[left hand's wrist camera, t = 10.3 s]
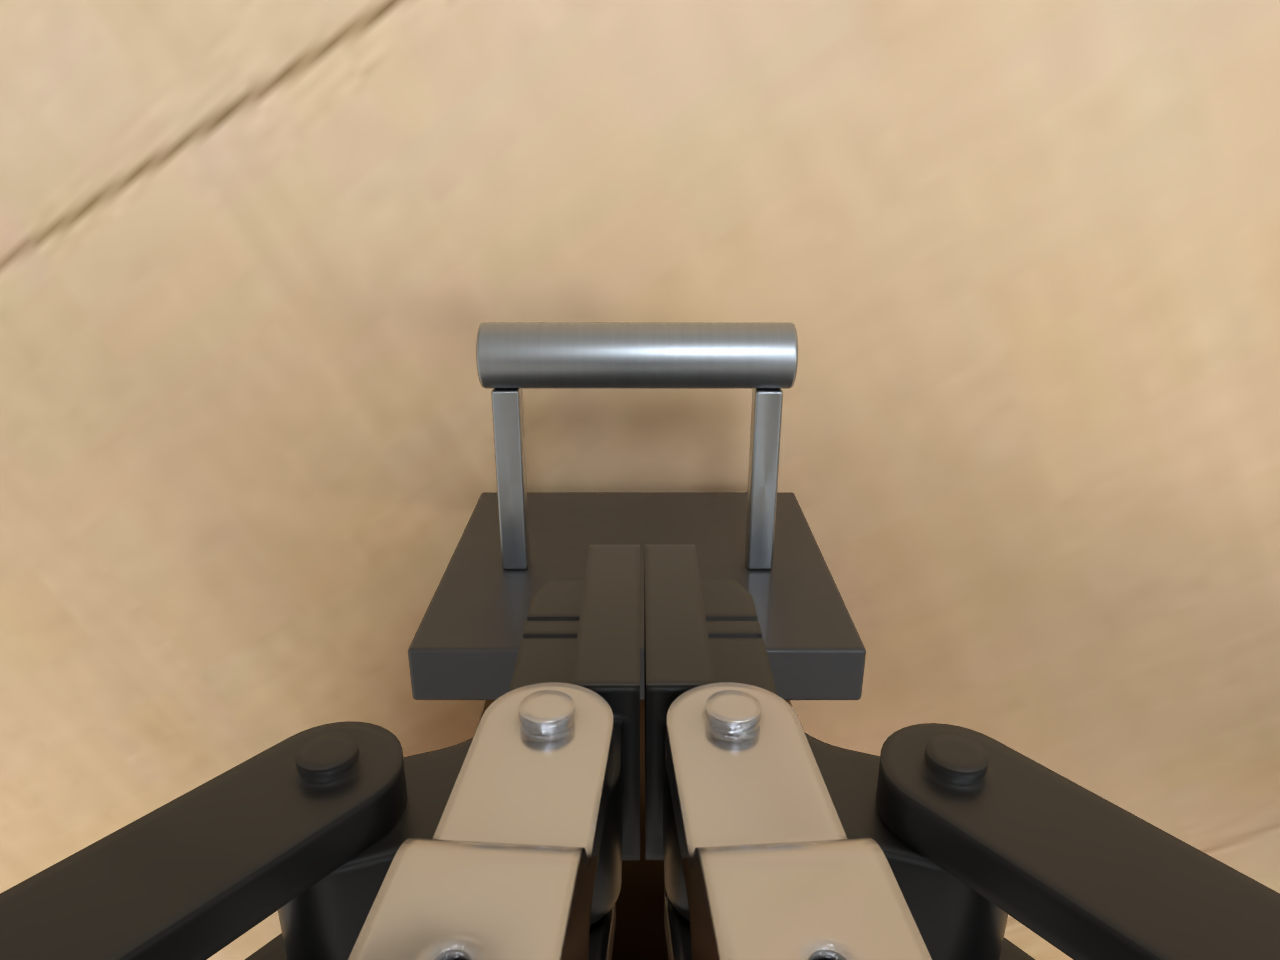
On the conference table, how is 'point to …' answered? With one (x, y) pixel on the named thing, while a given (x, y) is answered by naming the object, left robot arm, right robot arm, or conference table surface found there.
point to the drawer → (635, 537)
